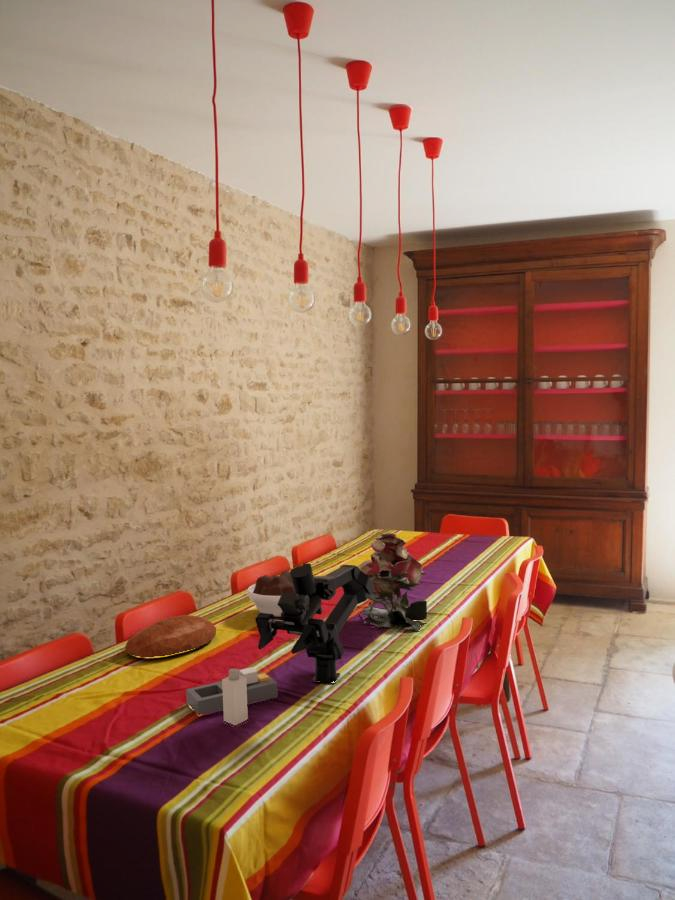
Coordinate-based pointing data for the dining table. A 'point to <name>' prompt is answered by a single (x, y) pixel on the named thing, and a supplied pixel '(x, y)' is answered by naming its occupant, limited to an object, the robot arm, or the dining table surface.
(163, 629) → the bread
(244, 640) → the dining table surface
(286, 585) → the white dessert bowl
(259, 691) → the grey boxy piece
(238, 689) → the plug
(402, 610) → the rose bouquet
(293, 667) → the dining table surface
